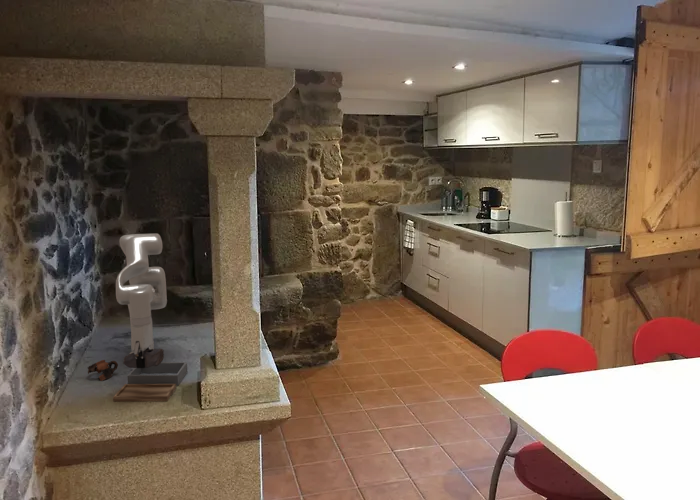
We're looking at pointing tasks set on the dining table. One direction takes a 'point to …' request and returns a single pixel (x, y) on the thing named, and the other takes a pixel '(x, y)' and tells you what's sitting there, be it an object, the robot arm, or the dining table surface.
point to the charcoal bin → (163, 367)
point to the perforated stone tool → (151, 358)
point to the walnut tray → (144, 392)
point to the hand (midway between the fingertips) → (143, 364)
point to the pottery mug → (103, 369)
